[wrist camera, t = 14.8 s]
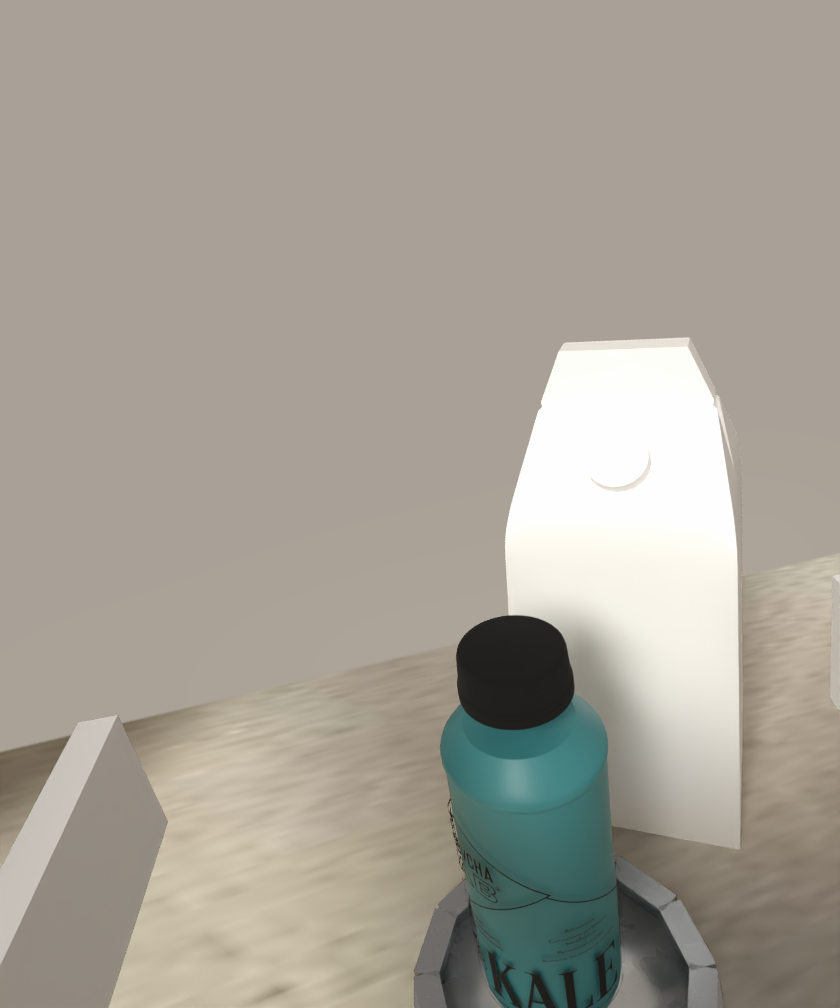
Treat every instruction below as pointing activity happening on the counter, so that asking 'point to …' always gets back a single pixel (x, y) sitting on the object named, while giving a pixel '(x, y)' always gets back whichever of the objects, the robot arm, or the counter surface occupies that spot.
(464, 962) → the grey round plate
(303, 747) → the counter surface
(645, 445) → the milk
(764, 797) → the counter surface
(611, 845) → the beverage bottle
